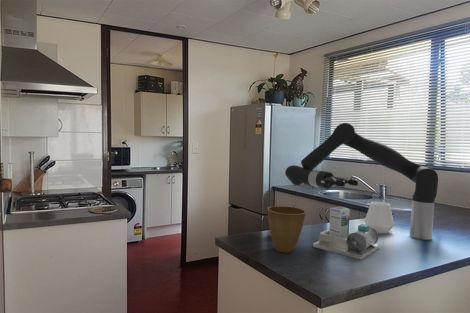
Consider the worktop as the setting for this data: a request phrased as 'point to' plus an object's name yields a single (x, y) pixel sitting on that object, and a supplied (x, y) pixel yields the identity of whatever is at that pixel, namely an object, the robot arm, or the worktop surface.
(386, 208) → the cup
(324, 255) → the worktop surface
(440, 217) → the worktop surface
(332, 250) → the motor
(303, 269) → the worktop surface
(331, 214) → the syrup box
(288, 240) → the plant pot
